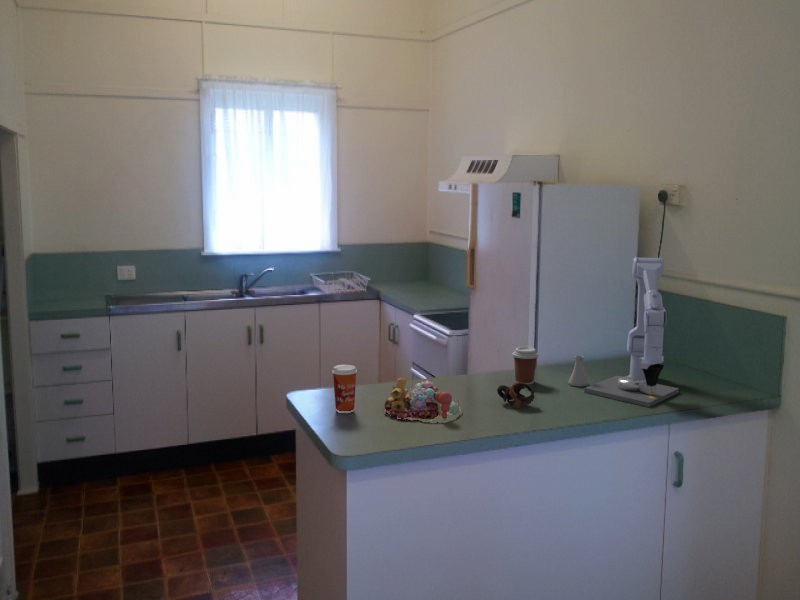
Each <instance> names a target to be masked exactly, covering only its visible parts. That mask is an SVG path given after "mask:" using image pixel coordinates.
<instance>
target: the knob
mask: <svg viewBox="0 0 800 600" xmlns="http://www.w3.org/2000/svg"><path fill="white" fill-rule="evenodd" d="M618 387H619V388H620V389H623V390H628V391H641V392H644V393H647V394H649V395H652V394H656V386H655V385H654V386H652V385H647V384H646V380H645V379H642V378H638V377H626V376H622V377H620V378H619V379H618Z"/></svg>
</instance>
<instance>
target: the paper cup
mask: <svg viewBox="0 0 800 600" xmlns="http://www.w3.org/2000/svg"><path fill="white" fill-rule="evenodd" d="M357 372H358V370H357V367H356V366H355V365H351V364H338V365H337V364H336V365H335V366H333V368H332V371H331V373H332V374H333V375H332V376H333V377H332V378H333V393H334V403H335V410H336V409H337V410H339V411H351V410H353V409H354V410H355V405H356V404H355V400H356V386H357V385H356V383H357V382H356V380H357Z"/></svg>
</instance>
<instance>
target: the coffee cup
mask: <svg viewBox="0 0 800 600" xmlns="http://www.w3.org/2000/svg"><path fill="white" fill-rule="evenodd" d="M511 356H512V357H513V361H514V380H515V383H517V382H522V383H526V384H528V385H532V384H534V382H535V373H536V366H537V358H539V356H540V355H539V353H538V352H537V350H536V348H535V347H531V346H518V347H516V348H515V350H514V351H513V352H512V353H511Z"/></svg>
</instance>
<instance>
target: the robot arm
mask: <svg viewBox="0 0 800 600" xmlns="http://www.w3.org/2000/svg"><path fill="white" fill-rule="evenodd" d="M664 267H665V263H664V259H663V258H662V257H638V256H635V257H633V260H632V268H631V269H632V271H631V277H632V280H633V281H636V283H637V287H638V288H637V304H636V305H637V309H636V326H635V327H634V328H632V329H630V330H629V331H628V332H627V333H628V334H627V340H626V351H627V353H629V354H630V363H629V364H630V365H629V366H630V367H629V374H628V375H627V376H626V375H625V377H638V378H642V379H645V380H646V384H647V385H652V386H654V385H655V386H656V384H658V380H659V377H660V374H661V373H662V371H663V369H664V367H665V366H664V364H662V363H664V359H665V355H663V349H664V348H663V347H664V334H665V333H664V328H665V327H666V325H667V311H666V308H665V307H663V306H664V304H663V298H662V296H663V295H662V294H661V293H660V292H659V291H658V283H659V282H658V281H659V280H660V279H661V277H662V275H664V269H665V268H664Z"/></svg>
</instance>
